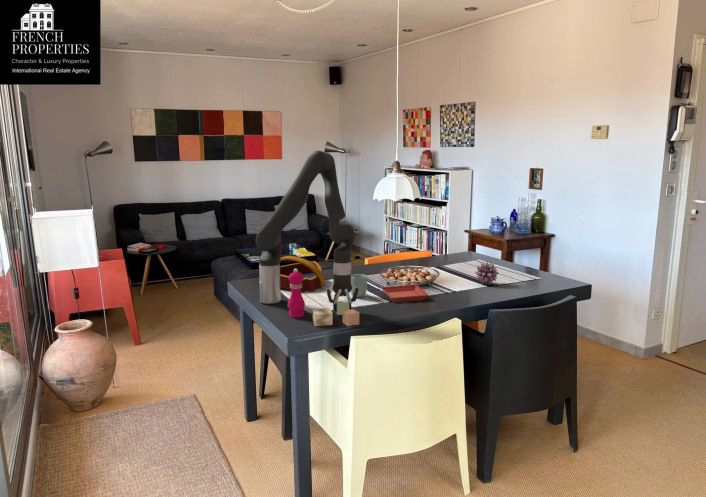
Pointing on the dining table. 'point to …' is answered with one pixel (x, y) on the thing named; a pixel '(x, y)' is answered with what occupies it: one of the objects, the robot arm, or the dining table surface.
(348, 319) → the terracotta cube
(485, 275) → the purple spiky ball
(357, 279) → the cup
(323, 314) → the birch block
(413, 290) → the plant saucer
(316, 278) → the decorative basket
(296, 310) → the pepper mill
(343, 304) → the sage cube
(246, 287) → the dining table surface
